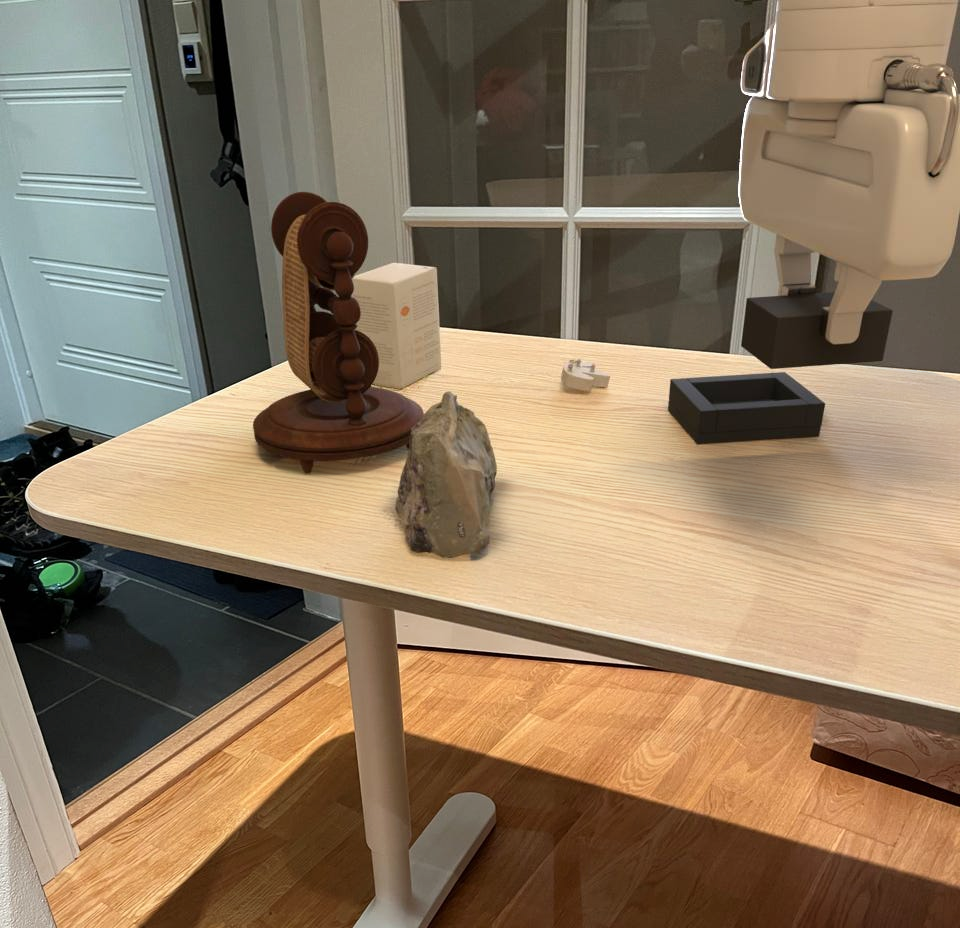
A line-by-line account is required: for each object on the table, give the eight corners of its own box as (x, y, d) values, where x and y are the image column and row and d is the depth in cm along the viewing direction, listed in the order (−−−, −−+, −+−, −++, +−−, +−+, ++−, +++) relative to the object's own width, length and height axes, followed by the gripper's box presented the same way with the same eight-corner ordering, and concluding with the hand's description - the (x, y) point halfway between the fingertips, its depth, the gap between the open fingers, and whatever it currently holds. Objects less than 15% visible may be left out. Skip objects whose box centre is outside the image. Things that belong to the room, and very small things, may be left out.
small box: (400, 362, 103) (393, 261, 97) (443, 369, 101) (438, 265, 95) (356, 382, 97) (346, 276, 92) (400, 390, 95) (392, 282, 89)
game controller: (616, 392, 93) (617, 366, 91) (503, 404, 91) (502, 377, 89) (598, 375, 97) (599, 349, 96) (490, 386, 96) (489, 360, 94)
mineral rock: (462, 475, 76) (457, 351, 71) (571, 508, 70) (575, 376, 65) (348, 533, 68) (333, 397, 62) (461, 575, 62) (455, 430, 57)
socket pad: (780, 403, 89) (785, 371, 87) (819, 436, 81) (825, 403, 80) (667, 410, 88) (670, 378, 86) (696, 445, 81) (700, 411, 79)
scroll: (237, 434, 85) (196, 194, 74) (387, 406, 91) (368, 179, 80) (286, 491, 74) (246, 219, 63) (453, 455, 80) (442, 199, 69)
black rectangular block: (845, 339, 60) (854, 290, 59) (883, 361, 56) (893, 309, 54) (740, 346, 60) (746, 297, 58) (770, 369, 55) (777, 317, 54)
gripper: (1033, 61, 41) (956, 373, 49) (830, 54, 58) (796, 286, 66) (897, 67, 40) (840, 382, 48) (732, 58, 58) (709, 292, 65)
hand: (813, 326), depth 57 cm, fingers closed on black rectangular block, 5 cm apart
